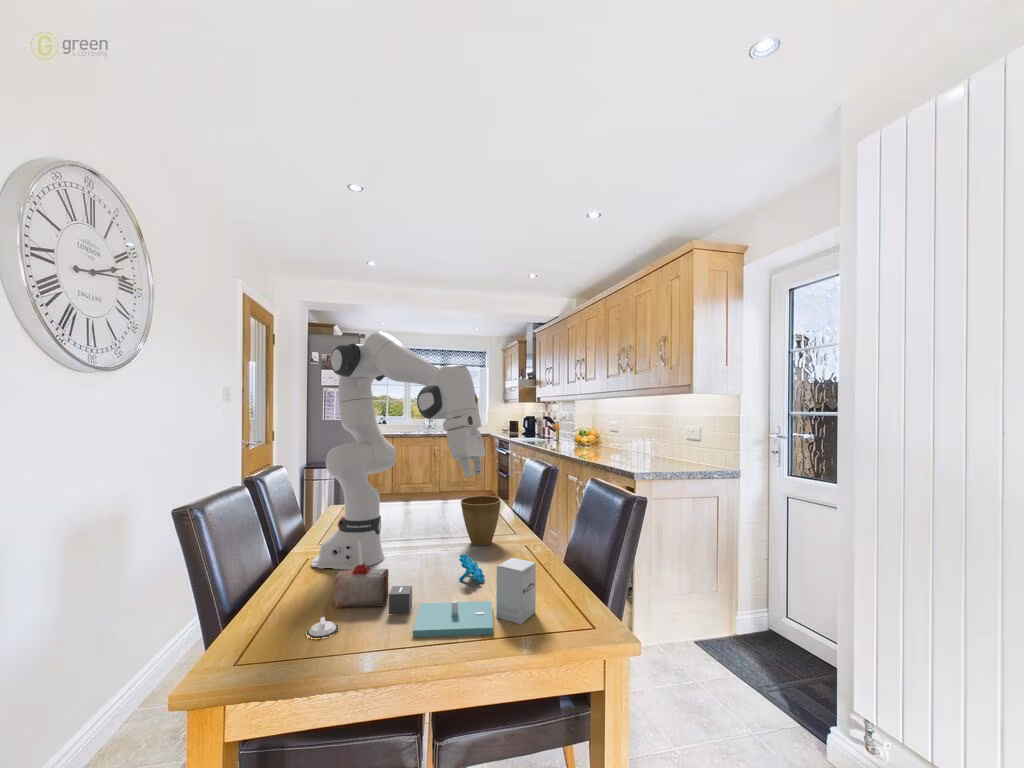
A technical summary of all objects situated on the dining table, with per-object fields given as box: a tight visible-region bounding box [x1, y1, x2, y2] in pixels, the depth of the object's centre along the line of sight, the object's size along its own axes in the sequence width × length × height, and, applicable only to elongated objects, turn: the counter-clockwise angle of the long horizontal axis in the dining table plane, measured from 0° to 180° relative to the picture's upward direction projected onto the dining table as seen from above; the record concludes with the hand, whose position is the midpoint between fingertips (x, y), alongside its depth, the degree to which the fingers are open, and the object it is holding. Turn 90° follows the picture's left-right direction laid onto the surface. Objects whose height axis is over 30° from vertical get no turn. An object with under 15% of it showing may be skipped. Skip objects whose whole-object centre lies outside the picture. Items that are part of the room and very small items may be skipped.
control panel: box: [412, 600, 494, 638], centre depth 112 cm, size 18×14×4 cm
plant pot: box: [460, 495, 502, 547], centre depth 173 cm, size 15×15×16 cm
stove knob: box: [306, 616, 340, 639], centre depth 107 cm, size 7×7×3 cm
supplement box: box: [495, 557, 537, 625], centre depth 115 cm, size 7×7×13 cm
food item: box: [333, 562, 389, 608], centre depth 122 cm, size 14×8×10 cm, turn 94°
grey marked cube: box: [388, 585, 413, 616], centre depth 118 cm, size 5×5×5 cm
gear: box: [458, 553, 486, 584], centre depth 137 cm, size 11×6×10 cm
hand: (474, 475), depth 120 cm, fingers open, 8 cm apart
